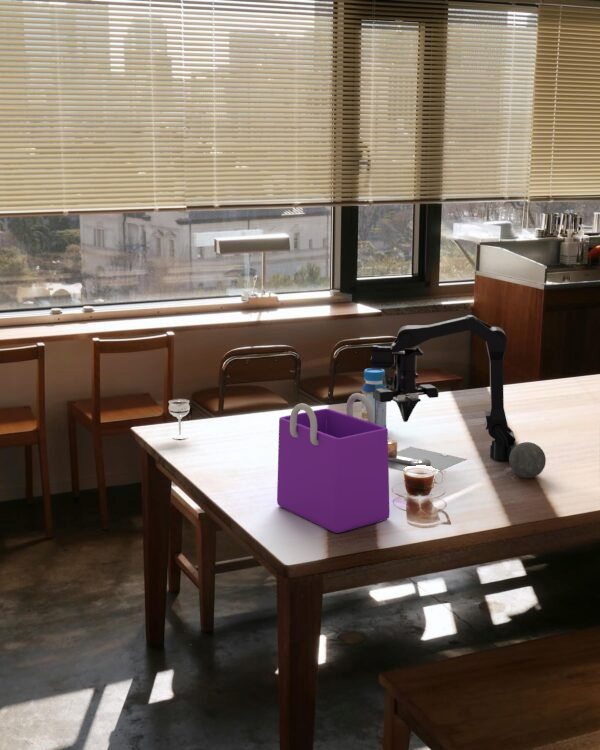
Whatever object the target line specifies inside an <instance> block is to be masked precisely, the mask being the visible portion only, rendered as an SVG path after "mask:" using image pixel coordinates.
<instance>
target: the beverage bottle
mask: <svg viewBox="0 0 600 750" xmlns="http://www.w3.org/2000/svg"><path fill="white" fill-rule="evenodd" d="M383 375H386V369H371V367H370V368H365V369H364V371H363V380H364V381H365V382H364V383H363V385H362V388H361V394H363V395H364V396H366V397H367V398H368V400H369V401H370V403H371V405H372V407H373V412H374V424H377V425H380V426H383V427H386V428H387V403H388V402H379V401H378V400H376V399H374V398H373V392H374V390H375V389H380V388H387V386H383V382H382V380H383ZM361 419H362V420H365V421H368V418H367V410H366V407H365V405H364V404H363V402H362V401H361Z"/></svg>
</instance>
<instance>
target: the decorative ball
mask: <svg viewBox="0 0 600 750" xmlns="http://www.w3.org/2000/svg"><path fill="white" fill-rule="evenodd" d="M546 461H547V458H546V454H545V452H544V451H543V449H542V447H541V446H539V445H538V444H536V443H534V442H530V441H526V442H525V441H524V442H520V443H518V444H516V446H515V447H514V448H513V449H512V451H511V453H510V456H509V462H508V463H509V467H510V469H511V470H512V471H513V473H514V474H515V475H516V476H518V477H521V478H524V479H531V478H535V477H537V476H540V475H541V473H542V472H543V471H544V469H545V466H546Z"/></svg>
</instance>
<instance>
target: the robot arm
mask: <svg viewBox="0 0 600 750" xmlns="http://www.w3.org/2000/svg"><path fill="white" fill-rule="evenodd" d="M468 331H470V332H471V333H473V334H474V335H476V336H477V337H478V338H480V339H482V340H483V341H484V342H485V345H486V349H487V354H488V359H489V390H490V392H489V396H490V402H489V403H490V404H489V405H490V406H489V410H484V416H485V417H484V418H485V420H484V427H485V430H487V431H488V435H489V436H490V437H491V438H492V439H493V440H491V444H490V448H489V458H490V459H492V460H494V461H496V462H500V463H509V456H510V453H511V451H512V449H513V448H514V447H515V446H516V445H517V444H516V443H517V442H516V437H515V433H514V432H513V430H512V429H511V428H510V427H509V426H508V421H507V416H506V411H505V406H504V403H505V402H504V401H505V400H504V358H505V353H506V348H507V343H508V338H507V335H506V333H505V331H504V330H503V328H502V327H499V326H491V325H490V324H488V323H486V322H485V321H482V320H481V319H480V318H477V317H476V316H475V315H473V314H467V315H466V316H462V317H458V318H454V319H453V318H452V319H449V320H444V321H440V322H436V323H432V324H431V323H430V324H425V325H423V324H421V325H420V324H412V325H404V326H402V327H400V328H399V329H398V331H397V336H396V339H394V341H393V342H392V343H391V345H390V346H389V345H388V346H385V345H384V346H380V345H372V350H371V358H370V368H371V369H383V370H391V368H393V367H395V356H396V371H394V373H393V376H391V374H385V375H383V380H382V382H383V386H386V388H380V389H375V390H374V392H373V398H374V399H376V400H378V401H379V402H387V403H388V402H393V401H394V402H395V403H396V406H398V409H399V412H400V415H401V417H402V421H403V422H404V423H407V422H408V421H409V420H410V417H411V415H412V413H413V411H414V409H415V407H416V406H417V404H418V403H419V402H421V401H422V400H421V399H420V396H422V395H426V396H427V397H428V398H429V399H433V398H439V389H438V387H436V386H434V385H432V384H431V383H429V384H427V383H426V384H419V386H418V387H417V379H418V378H419V374H418V373H417V357H419V356H423V355H424V351H423V350H421V349H422V348H420V347H419V345H421V344H423V343H425V342H427V341H429V340H431V339H435V338H436V339H437V338H441V337H445V336H450V335H454V334H459V333H463V332H468ZM414 347H415V348H414ZM387 387H388V388H387Z"/></svg>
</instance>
